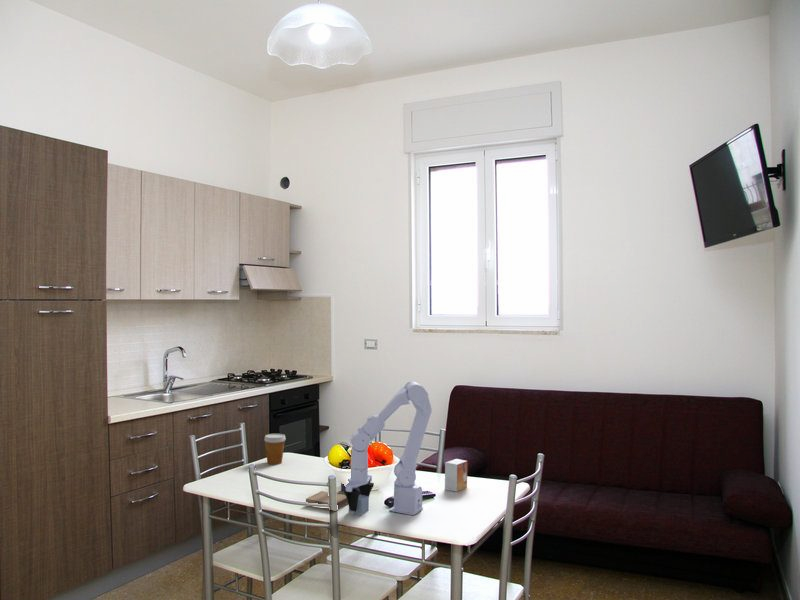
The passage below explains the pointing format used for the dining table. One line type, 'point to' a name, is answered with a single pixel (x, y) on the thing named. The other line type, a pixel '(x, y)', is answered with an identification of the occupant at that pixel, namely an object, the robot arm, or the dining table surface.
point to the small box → (456, 475)
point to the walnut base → (327, 499)
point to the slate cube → (361, 505)
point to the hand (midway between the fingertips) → (358, 507)
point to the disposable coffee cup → (274, 448)
